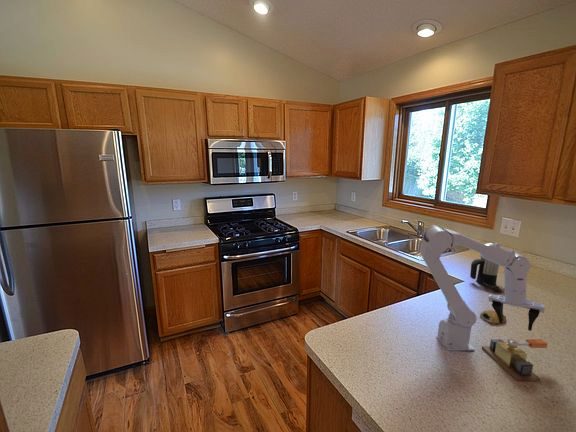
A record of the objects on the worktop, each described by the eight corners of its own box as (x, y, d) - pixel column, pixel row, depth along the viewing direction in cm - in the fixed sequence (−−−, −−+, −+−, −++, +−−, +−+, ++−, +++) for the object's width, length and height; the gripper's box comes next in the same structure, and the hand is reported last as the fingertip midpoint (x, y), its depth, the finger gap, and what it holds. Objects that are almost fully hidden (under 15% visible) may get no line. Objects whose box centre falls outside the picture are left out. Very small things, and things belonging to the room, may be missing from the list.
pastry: (495, 314, 121) (497, 306, 121) (510, 323, 115) (512, 314, 114) (477, 316, 120) (479, 308, 119) (492, 325, 113) (493, 317, 112)
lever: (511, 348, 88) (512, 343, 88) (504, 343, 91) (505, 338, 91) (547, 348, 89) (548, 343, 89) (539, 343, 91) (540, 338, 91)
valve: (518, 376, 84) (521, 360, 83) (486, 348, 97) (489, 334, 96) (534, 376, 85) (537, 360, 84) (500, 348, 97) (503, 334, 96)
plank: (517, 380, 83) (517, 378, 83) (481, 348, 98) (482, 346, 98) (539, 380, 84) (540, 378, 84) (500, 348, 98) (501, 346, 98)
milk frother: (484, 278, 160) (488, 254, 157) (513, 290, 145) (518, 263, 142) (465, 281, 155) (469, 256, 152) (494, 294, 140) (498, 266, 138)
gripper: (546, 288, 90) (545, 326, 92) (491, 279, 101) (492, 314, 103) (543, 296, 86) (542, 337, 88) (486, 286, 96) (487, 322, 98)
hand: (515, 325), depth 95 cm, fingers open, 7 cm apart
